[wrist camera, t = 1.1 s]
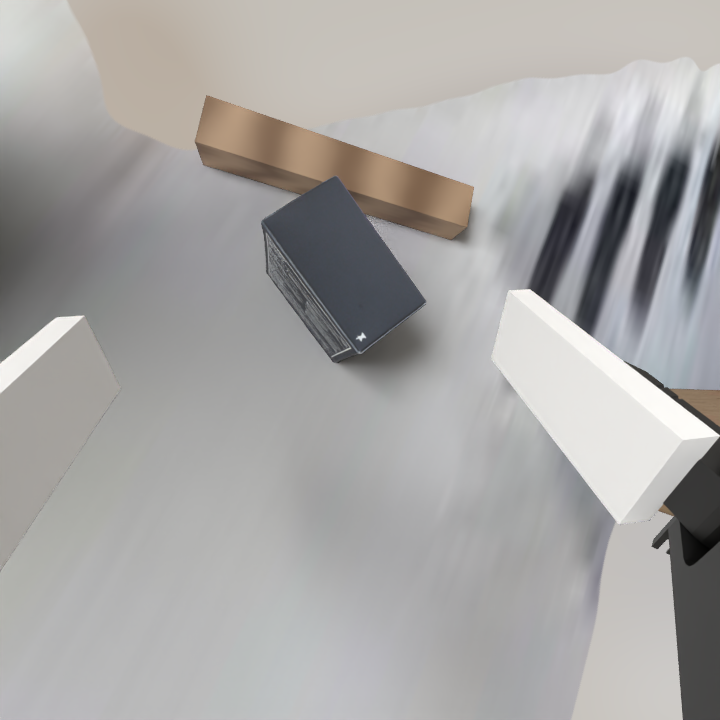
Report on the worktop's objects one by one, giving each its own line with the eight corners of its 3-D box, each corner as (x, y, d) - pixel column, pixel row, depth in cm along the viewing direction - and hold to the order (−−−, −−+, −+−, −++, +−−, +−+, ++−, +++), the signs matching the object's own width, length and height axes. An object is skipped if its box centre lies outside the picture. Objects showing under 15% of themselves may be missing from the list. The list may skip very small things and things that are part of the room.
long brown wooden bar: (204, 167, 31) (194, 141, 28) (214, 125, 32) (206, 95, 28) (449, 241, 36) (467, 227, 33) (455, 204, 37) (474, 187, 33)
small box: (387, 324, 34) (434, 302, 24) (334, 365, 33) (358, 360, 22) (321, 232, 33) (339, 168, 23) (263, 271, 32) (255, 221, 21)
